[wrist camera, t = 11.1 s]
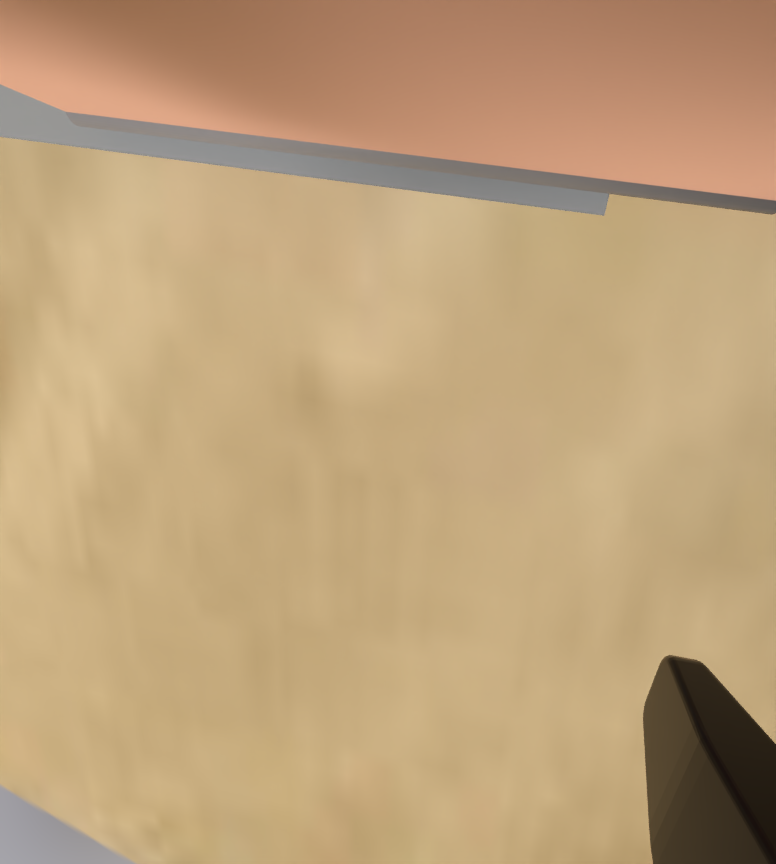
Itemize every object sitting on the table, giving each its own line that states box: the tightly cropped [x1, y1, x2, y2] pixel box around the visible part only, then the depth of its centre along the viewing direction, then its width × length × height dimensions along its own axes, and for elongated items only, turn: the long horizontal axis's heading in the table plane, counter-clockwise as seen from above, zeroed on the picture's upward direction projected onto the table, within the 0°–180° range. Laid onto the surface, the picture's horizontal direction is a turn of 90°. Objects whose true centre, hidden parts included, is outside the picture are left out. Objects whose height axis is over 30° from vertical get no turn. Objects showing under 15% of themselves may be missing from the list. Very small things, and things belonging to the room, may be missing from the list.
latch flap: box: [0, 0, 776, 214], centre depth 8 cm, size 12×1×9 cm, turn 84°
